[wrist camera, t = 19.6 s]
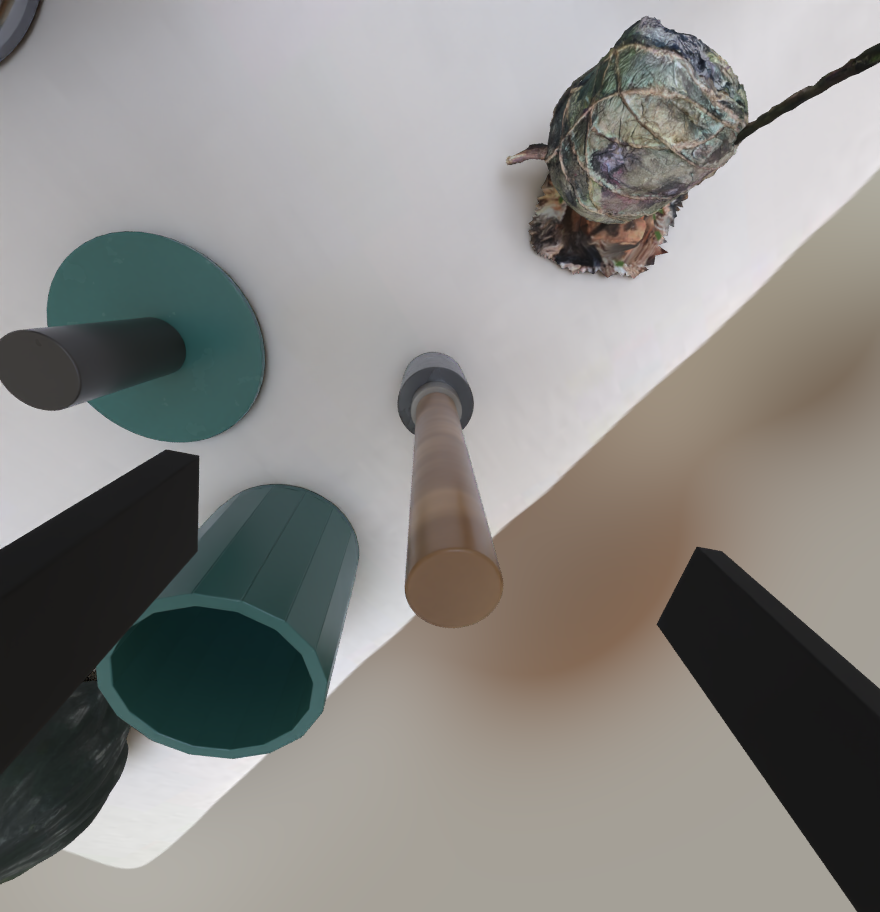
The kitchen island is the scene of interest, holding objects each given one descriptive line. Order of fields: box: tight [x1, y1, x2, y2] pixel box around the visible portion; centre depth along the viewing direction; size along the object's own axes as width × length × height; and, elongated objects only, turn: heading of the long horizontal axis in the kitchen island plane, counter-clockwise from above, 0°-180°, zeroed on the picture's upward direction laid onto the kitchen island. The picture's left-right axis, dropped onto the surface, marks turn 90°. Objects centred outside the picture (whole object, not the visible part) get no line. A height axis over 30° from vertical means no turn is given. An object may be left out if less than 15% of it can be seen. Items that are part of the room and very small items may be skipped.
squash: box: [0, 681, 131, 884], centre depth 34 cm, size 14×15×15 cm
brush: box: [398, 352, 503, 628], centre depth 19 cm, size 4×4×22 cm
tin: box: [96, 484, 359, 759], centre depth 28 cm, size 12×12×13 cm
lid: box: [0, 231, 265, 442], centre depth 23 cm, size 13×13×10 cm
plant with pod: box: [506, 16, 880, 278], centre depth 17 cm, size 8×11×20 cm
